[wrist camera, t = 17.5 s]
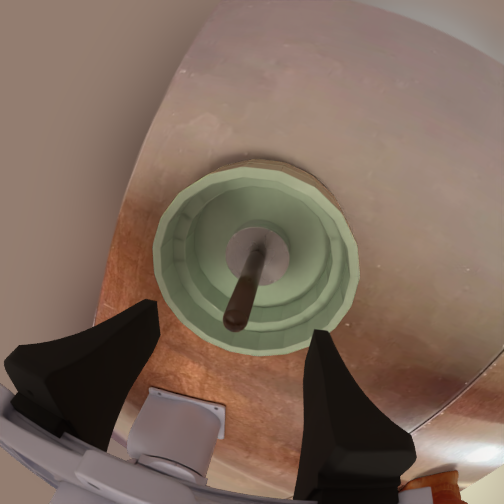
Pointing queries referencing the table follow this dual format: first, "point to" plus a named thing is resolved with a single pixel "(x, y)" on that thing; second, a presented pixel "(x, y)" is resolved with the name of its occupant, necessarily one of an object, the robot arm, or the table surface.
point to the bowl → (223, 281)
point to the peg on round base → (253, 266)
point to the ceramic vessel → (439, 487)
